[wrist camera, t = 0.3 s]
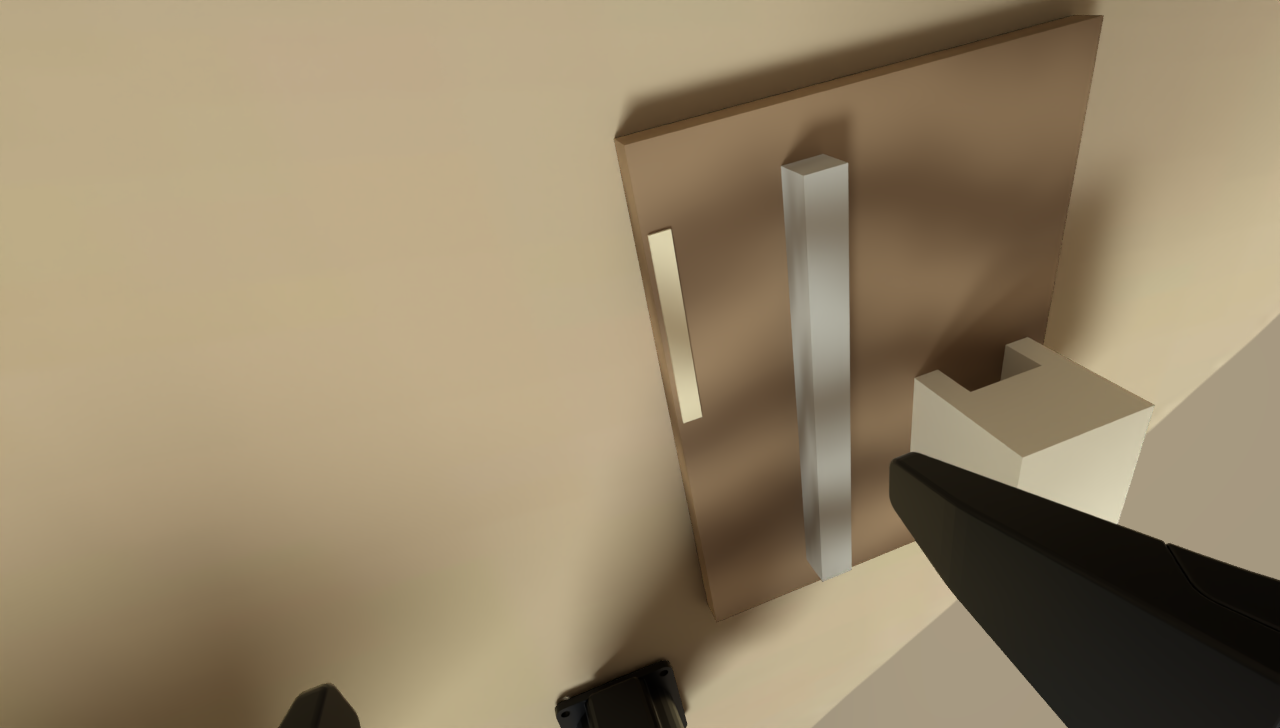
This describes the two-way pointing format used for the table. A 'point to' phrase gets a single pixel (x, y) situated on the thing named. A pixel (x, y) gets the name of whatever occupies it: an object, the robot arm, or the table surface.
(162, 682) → the table surface
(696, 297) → the cleat board
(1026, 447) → the notched block
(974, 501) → the robot arm
